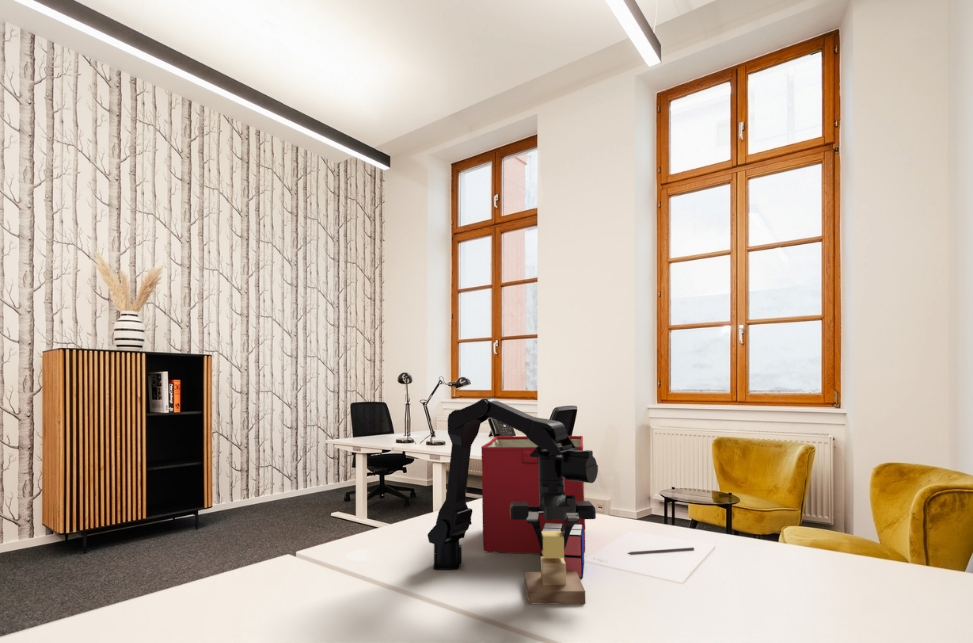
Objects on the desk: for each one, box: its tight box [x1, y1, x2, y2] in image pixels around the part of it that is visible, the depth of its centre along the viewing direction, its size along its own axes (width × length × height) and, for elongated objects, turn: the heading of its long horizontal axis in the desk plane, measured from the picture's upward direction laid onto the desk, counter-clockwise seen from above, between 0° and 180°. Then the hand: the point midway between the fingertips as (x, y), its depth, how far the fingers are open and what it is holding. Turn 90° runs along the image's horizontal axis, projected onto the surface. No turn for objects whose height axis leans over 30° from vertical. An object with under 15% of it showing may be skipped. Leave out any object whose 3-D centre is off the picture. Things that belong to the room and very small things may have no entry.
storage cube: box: [481, 435, 586, 555], centre depth 165 cm, size 32×28×29 cm
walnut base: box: [524, 571, 586, 605], centre depth 125 cm, size 12×12×2 cm
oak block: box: [540, 556, 566, 585], centre depth 125 cm, size 5×5×4 cm
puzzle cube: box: [540, 523, 585, 579], centre depth 140 cm, size 10×10×10 cm
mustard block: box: [541, 531, 564, 558], centre depth 126 cm, size 4×4×4 cm
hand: (552, 549), depth 126 cm, fingers closed on mustard block, 4 cm apart
